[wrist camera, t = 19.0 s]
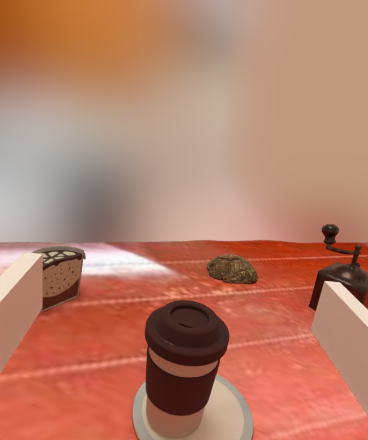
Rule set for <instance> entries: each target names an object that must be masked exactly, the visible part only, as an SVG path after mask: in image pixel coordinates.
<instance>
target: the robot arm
mask: <svg viewBox="0 0 368 440" xmlns="http://www.w3.org/2000/svg"><path fill="white" fill-rule="evenodd" d="M42 302H43V254H38V253H27V252H25V253H24V254H22V255H21V256H20V257H19V258H18V259H17V260H16V261H15V262H14V263H13V264H12V265H11V266H10V267H9V268H8V269H7V270H6V271H5V272H4V273H3V274H2V275H1V276H0V373H1V372H2V370H3V369H4V367H5V366H6V364H7V363H8V361H9V359H10V358H11V356H12V355H13V353H14V352H15V350H16V348H17V347H18V345H19V344H20V342H21V341H22V339H23V337H24V336H25V334H26V333H27V331H28V330H29V328H30V327H31V325H32V323H33V322H34V320H35V319H36V317H37V316H38V314H39V312H40V311H41V309H42ZM311 331H312V333H313V334H314V336H315V337H316V339H317V340H318V342H319V343H320V345H321V346H322V348H323V349H324V351H325V352H326V354H327V355H328V357H329V358H330V360H331V361H332V363H333V364H334V366H335V367H336V369H337V370H338V372H339V373H340V375H341V376H342V378H343V379H344V381H345V382H346V384H347V385H348V387H349V388H350V390H351V391H352V393H353V394H354V396H355V397H356V399H357V400H358V402H359V403H360V405H361V406H362V408H363V409H364V411H365V412H366V414H367V415H368V309H366V308H365V307H364V306H363V305H362V304H361V303H360V302H359V301H358V300H357V299H356V298H355V297H354V296H353V295H352V294H351V293H350V292H349V291H348V290H347V289H346V288H345V287H344V286H343V285H342V284H341V283H340V282H330V281H324V285H323V288H322V292H321V295H320V299H319V302H318V306H317V309H316V313H315V316H314V320H313V323H312V327H311Z"/></svg>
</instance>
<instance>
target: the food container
mask: <svg viewBox="0 0 368 440" xmlns="http://www.w3.org/2000/svg"><path fill="white" fill-rule="evenodd" d="M32 253H38V254H43V302H42V309H41V311H40V312H39V313H41V312H43V311H46V310H48V309H50V308H52V307H55V306H57V305H59V304H62V303H64V302H66V301H69V300H71V299H73V298H75V297H78V295H79V288H80V280H81V272H82V265H83V259H86V257H85V253H84V250H82V249H79V248H75V247H69V246H52V247H46V248H41V249H38V250H36V251H33V252H32Z"/></svg>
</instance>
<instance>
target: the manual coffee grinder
mask: <svg viewBox="0 0 368 440" xmlns="http://www.w3.org/2000/svg"><path fill="white" fill-rule="evenodd" d="M338 232H339V228H338V227H337V226H335V225H333V224H327V225H325V226H323V228H322V233H323V234H324V236H325V240H324V243H326V249H328V250H331V251H334V252H338V253H343V254H354V256H353V259H352V263H351V264H350V263H349V264H345V265H344V264H342V263H340V262H338V263H335V264H333V265H330V266H328V267H326V268H324V269H322V270H320V271H318V275H317V279H316V282H315V286H314V290H313V294H312V298H311V301H310V304H309V307H310V308H312V309H313V310H315V311H316V309H317V306H318V302H319V299H320V295H321V292H322V288H323V285H324V281H330V282H340V283H341V284H342V285H343V286H344V287H345V288H346V289H347V290H348V291H349V292H350V293H351V294H352V295H353V296H354V297H355V298H356V299H357V300H358V301H359V302H360V303H361V304H362V305H363V306H364V307H365V308H366V309H368V273H367V272H366V271H364V270H362V269H361V268H359V267H360V264H359V263H356V262H357V259H358V255H360V254H361V252H360V250H361V249H362V247H361V245H356V246H355V250H354V251H347V250H342V249H337V248H333V247H330V245H332V244H334V243H336V241H335V236H336V235H337V234H338Z"/></svg>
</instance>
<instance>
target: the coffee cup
mask: <svg viewBox="0 0 368 440" xmlns="http://www.w3.org/2000/svg"><path fill="white" fill-rule="evenodd" d="M145 339H146V342H147V344H148V348H147V364H146V393H147V401H146V415H147V419H148V421H149V423H150V425H151V426H152V427H153V429H154V430H155V431H157V432H158V433H160V434H161V435H163V436H166V437H169V438H182V437H186V436H188V435H190V434H192V433H193V432H194V431H195V430H196V429H197V428H198V426H199V425H200V423H201V419H202V416H203V412H204V409H205V406H206V404H207V403H208V401H209V398H210V394H211V391H212V388H213V384H214V381H215V377H216V374H217V370H218V367H219V363H220V358H221V357H222V356H223V355H224V354H225V352H226V350H227V346H228V341H229V331H228V328H227V326H226V325H225V323H224V322H223V321H222V320H221V319H220V318H219V317H218V316H217V315H216V314H215V313H214V311H213V310H211V309H210V308H209V307H207V306H205V305H203V304H201V303H198V302H194V301H186V300H181V301H174V302H171V303H169V304H167V305H165V306H164V307H161V308H159V309H157V310H155V311H154V312H153V313H151V314H150V316H149V317H148V319H147V322H146V328H145Z"/></svg>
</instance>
